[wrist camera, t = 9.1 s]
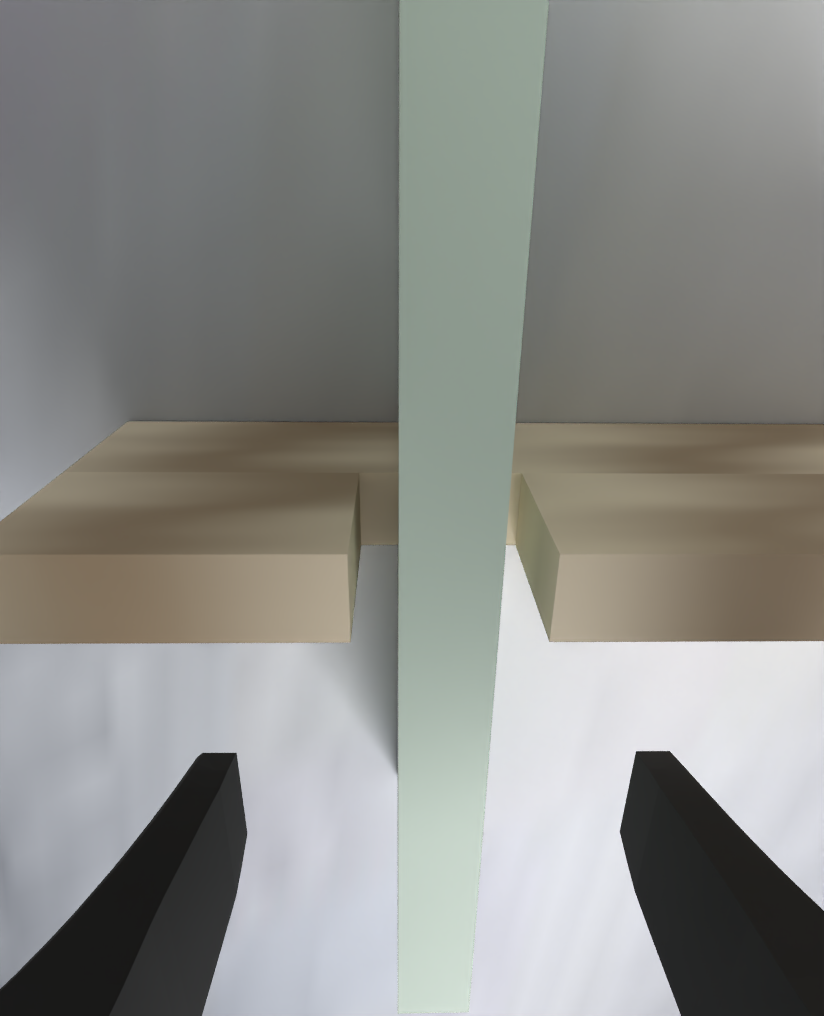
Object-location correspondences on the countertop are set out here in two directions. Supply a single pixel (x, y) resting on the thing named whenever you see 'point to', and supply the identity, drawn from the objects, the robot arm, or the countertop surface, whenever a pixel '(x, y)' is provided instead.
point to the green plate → (456, 446)
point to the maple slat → (374, 521)
